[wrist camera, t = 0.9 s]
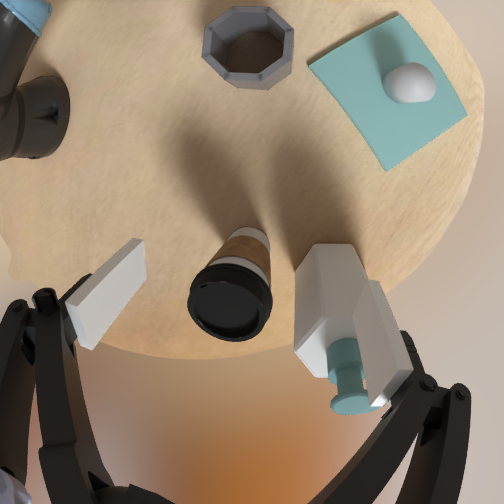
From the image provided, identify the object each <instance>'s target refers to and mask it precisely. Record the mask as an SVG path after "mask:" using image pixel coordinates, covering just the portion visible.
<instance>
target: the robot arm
mask: <svg viewBox="0 0 504 504" xmlns="http://www.w3.org/2000/svg"><path fill="white" fill-rule="evenodd" d="M51 13H52V6H51V4H50V3H49V2H48V1H46V0H0V161H2V160H5V159H8V158H11V157H17V158H29V159H40V158H43V157H46V156H49V155H51V154H52V153H53V152H54V151H55V150H56V149H57V148H58V147H59V145H60V144H61V142H62V140H63V138H64V136H65V133H66V130H67V126H68V122H69V115H70V100H69V94H68V91H67V88H66V86H65V84H64V83H63V81H62V80H61V79H59V78H58V77H56V76H41V77H37V78H35V79H33V80H32V81H29V82H27V83H24V84H22V85H20V86H17V84H18V82H19V79H20V77H21V74H22V72H23V69H24V67H25V65H26V63H27V61H28V58H29V56H30V54H31V52H32V50H33V48H34V46H35V44H36V42H37V41H38V39H39V38H40V37H41V35H42V34H41V33H42V30H43V28H44V26H45V25H46V23H47V21H48V19H49V17H50V15H51ZM146 279H147V276H146V265H145V251H144V240H142V239H136V238H132V239H131V240H130V241H129V242H128V243H127V244H125V245H124V246H123V247H122V248H121V249H120V250H119V251H118V252H116V253H115V254H114V255H113V256H112V257H111V258H110V259H109V260H108V261H106V262H105V263H104V264H103V265H102V266H101V267H100V268H99V269H98V270H97V271H96V272H95V273H94V274H91V273H90V274H88V275H86V276H84V277H82V278H81V279H80V280H79V281H78V282H77V283H76V284H74V285H73V286H72V288H70V289H69V290H68V291H67V292H66V293H65V294H64V295H63V296H62V297H61V298H60V299H59V300H58V299H57V296H56V292H55V290H54V289H52V288H42V289H40V290H38V291H36V293H34V294H33V296H32V301H33V303H34V306H35V309H33V308H29V306H28V304H27V301H25V300H23V299H19V300H15V301H13V302H12V303H11V304H10V305H9V306H8V308H7V310H6V312H5V314H4V317H3V319H2V321H1V323H0V504H31V502H32V498H31V496H30V495H29V493H27V491H26V488H25V482H26V476H27V455H28V436H29V424H30V415H31V406H32V400H33V393H34V388H35V382H36V393H37V405H38V414H39V422H40V429H41V435H42V441H43V447H41V448H40V449H39V452H38V453H39V460H40V465H41V469H42V473H43V477H44V480H45V484H46V488H47V491H48V494H49V498H50V501H51V503H52V504H175V503H173V502H171V501H169V500H167V499H165V498H164V497H162V496H160V495H158V494H156V493H153V492H150V491H148V490H145V489H142V488H139V487H137V486H134V485H132V484H130V485H129V487H123V486H114V483H113V481H112V479H111V477H110V475H109V474H108V472H107V470H106V469H105V467H104V465H103V463H102V460H101V457H100V454H99V451H98V448H97V445H96V442H95V438H94V435H93V432H92V428H91V425H90V421H89V417H88V413H87V409H86V405H85V400H84V396H83V391H82V386H81V381H80V375H79V369H78V363H77V356H76V348H75V345H74V341H75V339H76V338H78V340H79V343H80V345H81V346H83V347H85V348H88V349H90V350H93V349H94V347H95V346H96V345H97V343H98V342H99V340H100V339H101V338H102V336H103V335H104V333H105V332H106V331H107V329H108V328H109V327H110V325H111V324H112V323H113V321H114V320H115V319H116V317H117V316H118V315H119V313H120V312H121V311H122V309H123V308H124V307H125V306H126V304H127V303H128V302H129V300H130V299H131V298H132V296H133V295H134V294H135V293H136V291H137V290H138V289H139V288H140V286H141V285H142V284H143V283H144V281H145V280H146ZM352 318H353V322H354V326H355V331H356V335H357V340H358V344H359V349H360V354H361V359H362V364H363V369H364V374H365V380H366V385H367V391H368V397H369V403H370V406H385V405H386V404H387V402H388V401H389V400H391V405H392V406H391V407H390V408H389V410H388V411H387V412H386V413H385V414H384V415H383V416H382V417H381V418H382V420H381V421H380V423H379V424H378V425H377V427H376V428H375V430H374V431H373V432H372V433H371V435H370V436H369V437H368V439H367V440H366V441H365V443H364V444H363V445H362V446H361V447H360V449H359V450H358V451H357V453H356V454H355V455H354V456H353V457H352V458H351V460H350V461H349V462H348V463H347V464H346V465H345V466H344V468H343V469H342V470H341V471H340V472H339V473H338V474H337V475H336V476H335V478H333V479H332V481H331V482H330V483H329V484H328V485H327V486H326V487H325V488H324V489H323V490H322V491H321V492H320V493H319V494H318V495H316V497H314V499H312V500H311V501H310V502H309V503H308V504H372V503H373V502H374V500H375V499H376V498H377V496H378V495H379V493H380V492H381V491H382V490H383V488H384V487H385V486H386V484H387V483H388V481H389V480H390V478H391V477H392V475H393V474H394V472H395V471H396V469H397V468H398V466H399V465H400V463H401V462H402V460H403V458H404V457H405V455H406V453H407V452H408V450H409V448H410V447H411V445H412V443H413V441H414V439H415V438H416V436H417V434H418V436H417V440H416V444H415V448H414V451H413V455H412V458H411V462H410V465H409V468H408V471H407V474H406V477H405V480H404V483H403V485H402V488H401V491H400V494H399V496H398V498H397V501H396V503H395V504H457V501H458V497H459V493H460V489H461V485H462V480H463V475H464V470H465V464H466V457H467V450H468V442H469V432H470V431H469V430H470V418H471V393H470V391H469V389H468V388H467V387H466V386H464V385H463V384H461V383H457V384H454V385H453V386H452V387H451V388H450V389H447V388H443V387H439V386H438V385H437V382H436V380H435V379H434V378H433V377H432V376H430V375H428V374H425V371H424V368H423V366H422V363H421V361H420V358H419V355H418V353H417V350H416V347H415V345H414V342H413V340H412V338H411V337H410V335H409V334H408V333H407V332H406V331H401V330H399V328H398V325H397V323H396V320H395V318H394V316H393V313H392V310H391V308H390V306H389V304H388V301H387V299H386V296H385V294H384V292H383V290H382V287H381V285H380V283H379V281H375V280H369V279H367V281H366V283H365V286H364V288H363V291H362V293H361V296H360V298H359V301H358V303H357V306H356V308H355V310H354V313H353V315H352Z"/></svg>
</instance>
